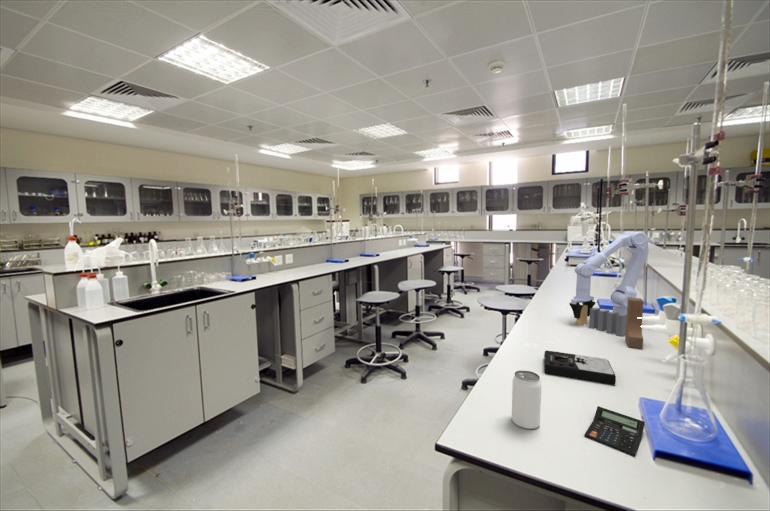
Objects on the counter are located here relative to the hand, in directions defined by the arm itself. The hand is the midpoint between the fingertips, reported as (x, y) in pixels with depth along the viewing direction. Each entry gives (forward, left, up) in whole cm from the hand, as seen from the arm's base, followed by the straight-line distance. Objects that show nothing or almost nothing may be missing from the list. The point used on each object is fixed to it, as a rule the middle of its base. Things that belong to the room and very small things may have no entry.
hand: (581, 317), depth 156 cm
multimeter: (+50, +29, -4) cm, 58 cm away
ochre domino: (0, 0, -3) cm, 3 cm away
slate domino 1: (0, +6, -3) cm, 7 cm away
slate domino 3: (0, +14, -3) cm, 14 cm away
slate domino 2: (0, +10, -3) cm, 10 cm away
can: (+88, +40, -4) cm, 96 cm away
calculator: (+74, +53, -4) cm, 91 cm away
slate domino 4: (0, +17, -3) cm, 18 cm away
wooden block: (+8, +26, -4) cm, 27 cm away
